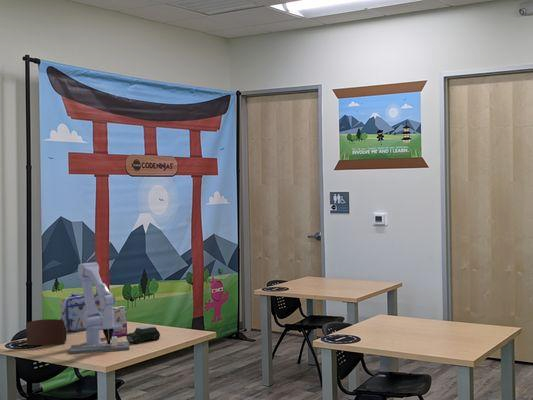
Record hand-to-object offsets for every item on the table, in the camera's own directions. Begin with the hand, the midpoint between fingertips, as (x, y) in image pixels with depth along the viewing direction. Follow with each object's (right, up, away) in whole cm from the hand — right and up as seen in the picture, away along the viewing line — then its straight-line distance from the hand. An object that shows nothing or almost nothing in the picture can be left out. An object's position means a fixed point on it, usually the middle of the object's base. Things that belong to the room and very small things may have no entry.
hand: (108, 343), depth 370 cm
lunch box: (-28, -3, +57) cm, 64 cm away
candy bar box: (-3, -3, +33) cm, 33 cm away
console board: (-5, -3, +1) cm, 6 cm away
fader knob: (+3, -1, +1) cm, 3 cm away
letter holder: (-38, -4, +19) cm, 43 cm away
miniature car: (+15, -3, +19) cm, 24 cm away
